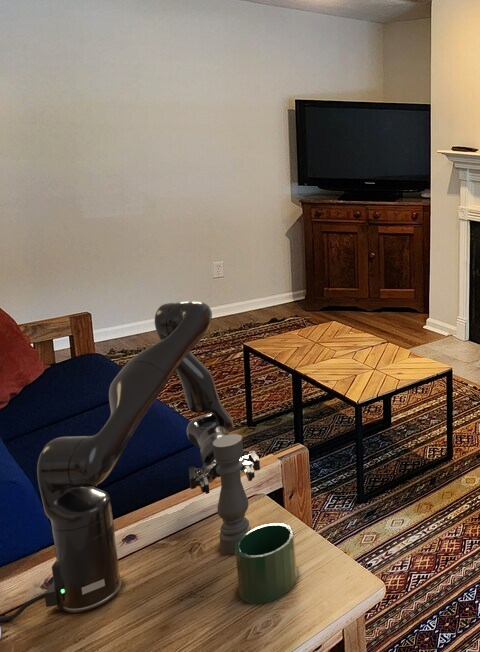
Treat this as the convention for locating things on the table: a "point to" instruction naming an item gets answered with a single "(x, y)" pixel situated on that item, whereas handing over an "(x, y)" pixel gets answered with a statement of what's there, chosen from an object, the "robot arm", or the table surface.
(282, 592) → the pot
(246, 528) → the candle holder
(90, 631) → the table surface
